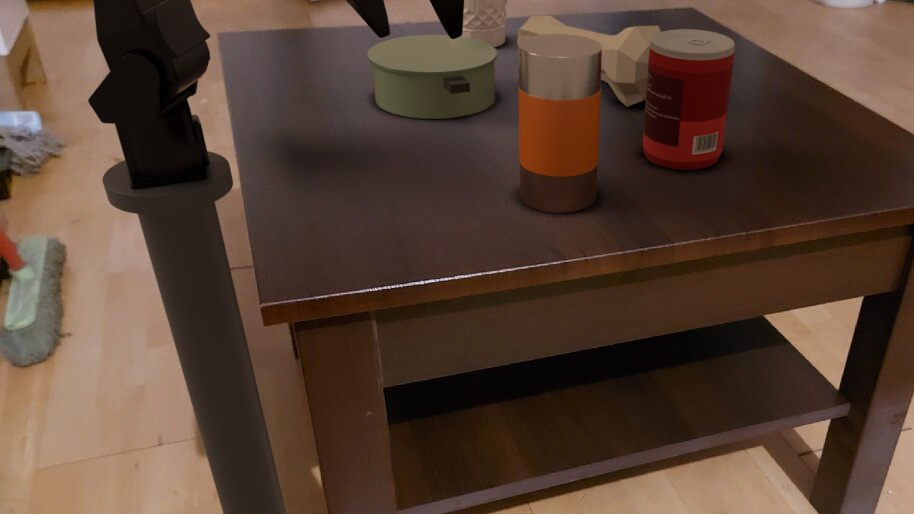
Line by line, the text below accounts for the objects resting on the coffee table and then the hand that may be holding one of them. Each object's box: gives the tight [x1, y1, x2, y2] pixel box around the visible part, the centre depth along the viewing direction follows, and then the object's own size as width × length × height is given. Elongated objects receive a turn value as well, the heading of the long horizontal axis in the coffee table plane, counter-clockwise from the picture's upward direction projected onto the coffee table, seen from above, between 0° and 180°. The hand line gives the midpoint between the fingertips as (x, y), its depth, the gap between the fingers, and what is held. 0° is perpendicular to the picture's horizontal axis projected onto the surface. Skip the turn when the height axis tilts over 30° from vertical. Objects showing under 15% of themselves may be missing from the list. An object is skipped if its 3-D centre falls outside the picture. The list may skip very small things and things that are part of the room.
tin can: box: [517, 34, 602, 214], centre depth 72 cm, size 7×7×13 cm
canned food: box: [642, 28, 736, 171], centre depth 82 cm, size 8×8×11 cm
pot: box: [366, 34, 498, 120], centre depth 94 cm, size 14×17×5 cm
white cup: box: [461, 0, 508, 48], centre depth 111 cm, size 8×8×10 cm
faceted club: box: [516, 15, 662, 108], centre depth 101 cm, size 9×8×25 cm
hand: (419, 37), depth 73 cm, fingers open, 9 cm apart
